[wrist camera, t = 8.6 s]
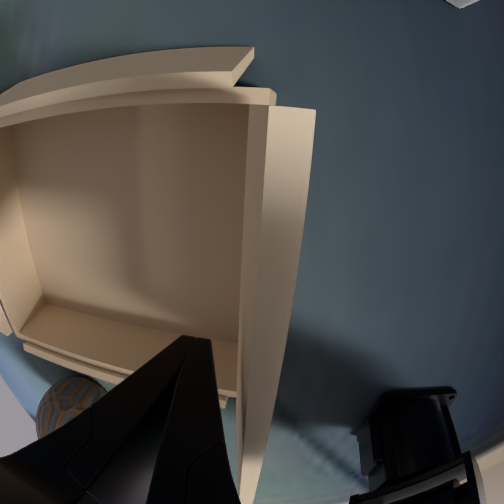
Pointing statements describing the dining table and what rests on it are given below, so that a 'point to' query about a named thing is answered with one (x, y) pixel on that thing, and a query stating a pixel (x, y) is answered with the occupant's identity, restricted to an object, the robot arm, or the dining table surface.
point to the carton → (127, 208)
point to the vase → (65, 403)
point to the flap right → (268, 270)
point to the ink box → (461, 2)
